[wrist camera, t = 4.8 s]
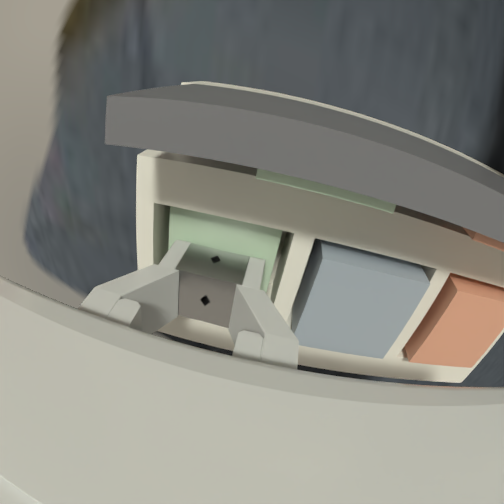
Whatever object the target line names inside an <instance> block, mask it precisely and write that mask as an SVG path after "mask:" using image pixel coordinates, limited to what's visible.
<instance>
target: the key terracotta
mask: <svg viewBox="0 0 504 504" xmlns="http://www.w3.org/2000/svg"><path fill="white" fill-rule="evenodd" d="M503 328H504V288H503V287H500V286H496V285H493V284H489V283H486V282H482V281H479V280H475V279H472V278H468V277H464V276H461V275H457V274H454V273H450V274H449V276H448V278H447V280H446V282H445V283H444V285H443V287H442V288H441V290H440V292H439V294H438V295H437V297H436V299H435V300H434V302H433V304H432V305H431V307H430V308H429V310H428V312H427V313H426V315H425V316H424V318H423V319H422V321H421V322H420V324H419V325H418V327H417V328H416V330H415V331H414V333H413V334H412V336H411V337H410V339H409V340H408V342H407V343H406V344H405V349H406V353H407V357H408V361H409V362H412V363H421V364H431V365H442V366H454V367H467V368H472V367H473V366H474V365H475V363H476V362H477V361H478V360H479V359H480V358H481V356H482V355H483V354H484V353H485V352H486V350H487V349H488V348H489V347H490V345H491V344H492V343H493V342H494V340H495V339H496V338H497V336H498V335H499V334H500V332H501V331H502V330H503Z"/></svg>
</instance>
